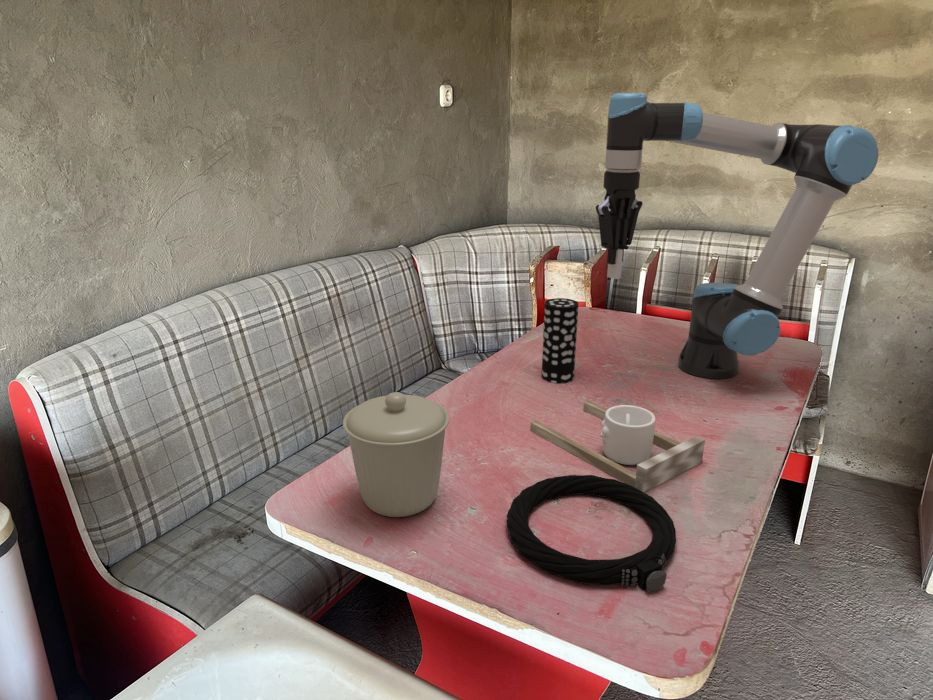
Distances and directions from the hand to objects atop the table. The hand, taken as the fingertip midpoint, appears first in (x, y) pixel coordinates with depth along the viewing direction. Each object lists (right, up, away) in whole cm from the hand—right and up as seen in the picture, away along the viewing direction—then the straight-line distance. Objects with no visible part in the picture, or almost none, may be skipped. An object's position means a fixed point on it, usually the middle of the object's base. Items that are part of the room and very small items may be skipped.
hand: (613, 277), depth 149 cm
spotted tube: (-10, -24, +21) cm, 33 cm away
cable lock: (-12, -48, -40) cm, 64 cm away
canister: (-45, -44, -31) cm, 70 cm away
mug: (-1, -38, -15) cm, 41 cm away
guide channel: (-3, -36, -12) cm, 38 cm away
